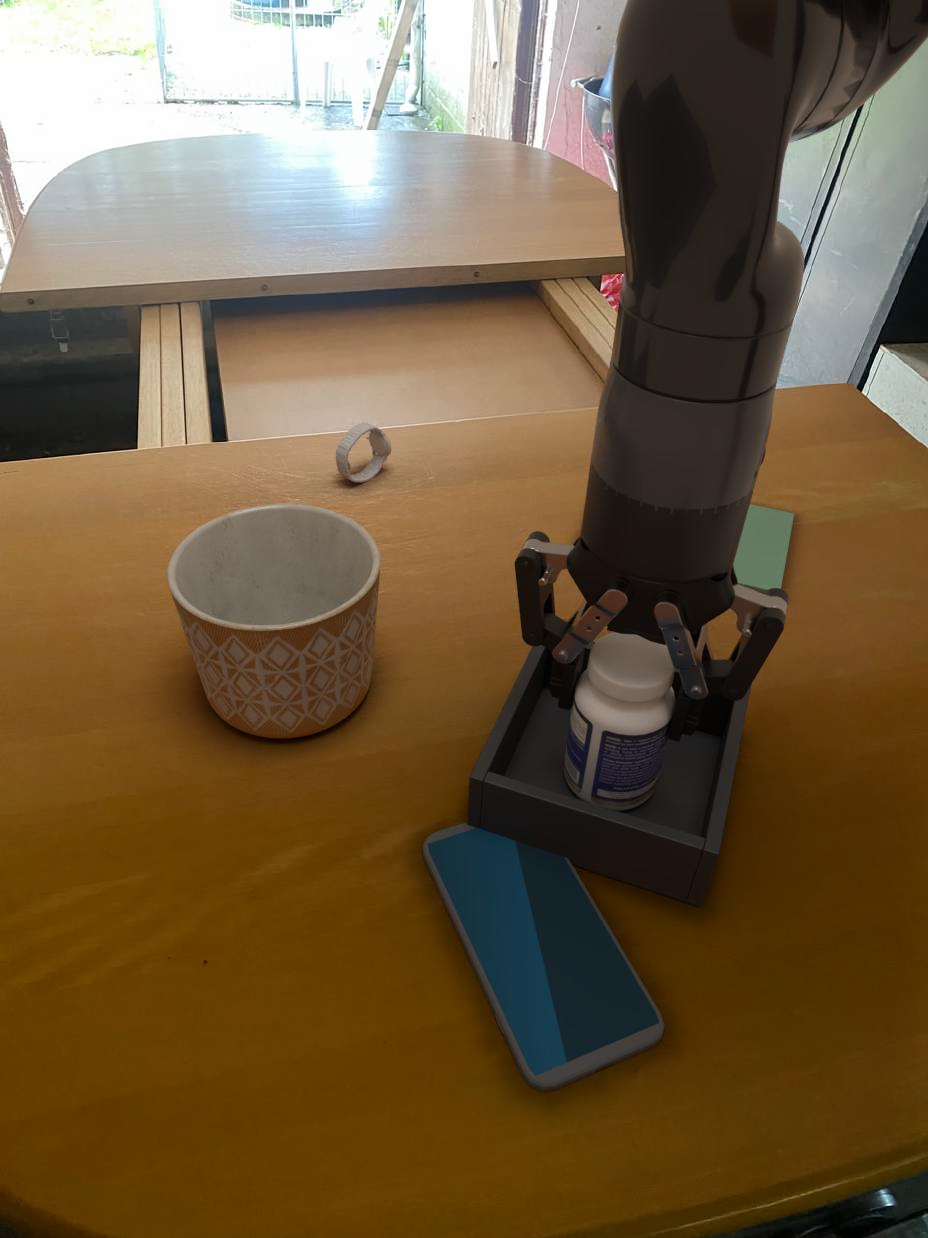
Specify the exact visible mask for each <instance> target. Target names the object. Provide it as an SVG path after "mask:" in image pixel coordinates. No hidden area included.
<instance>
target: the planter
mask: <svg viewBox="0 0 928 1238" xmlns="http://www.w3.org/2000/svg"><path fill="white" fill-rule="evenodd" d="M381 558H382V557H381V551H380V548H379V545H378V544H377V541H376V540H375V539H374V537H373V536H372V535H371V533H370V532H369V530H367V529H366V528H365V527H364V526H362V524H360V523H359V522H358V521H356V520H354V519H352V518H350V517H349V516H346V515H344V514H342V513H340V512H337V511H334V510H331V509H327V508H325V507H324V508H323V507H319V506H314V505H310V504H309V505H308V504H300V503H299V504H297V503H274V504H263V505H256V506H251V507H245V508H241V509H237V510H234V511H231V512H228V513H225V514H223V515H220V516H218V517H215V518H213V519H211V520H209V521H207V522H205V523H204V524H201V525H200V526H199V527H197V528H195V529H194V530H192V532H190V533H189V534H188V535H187V536H186V537H184V538H183V539H182V540H181V542H179V544H178V545H177V546H176V547H175V549H174V551H173V552H172V554H171V556H170V558H169V560H168V564H167V568H166V581H167V585H168V589H169V592H170V594H171V597H172V600H173V603H174V606H175V608H176V609H175V610H176V612H177V615H178V618H179V620H180V623H181V627H182V629H183V633H184V636H185V638H186V641H187V644H188V647H189V649H190V653H191V656H192V659H193V660H194V663H195V667H196V670H197V673H198V676H199V678H200V681H201V684H202V687H203V690H204V693H205V696H206V699H207V701H208V703H209V704H210V706H211V708H212V709H213V711H214V712H215V713H216V714H217V715H218V716H219V717H220V718H221V719H222V720H223V721H224V722H226V724H229V725H230V726H232V727H233V728H235V729H237V730H239V731H241V732H244V733H247V734H250V735H253V736H257V737H261V738H268V739H294V738H301V737H302V738H303V737H306V736H311V735H314V734H317V733H320V732H322V731H325V730H327V729H329V728H332V727H333V726H335V725H336V724H338V723H340V722H341V721H343V720H344V719H346V718H347V717H348V716H349V715H351V714H352V713H353V712H354V711H355V710H356V709H357V708H358V707H359V706H360V704H361V703H362V701H363V700H364V698H365V697H366V695H367V693H368V691H369V689H370V685H371V682H372V678H373V677H372V676H373V668H374V667H373V665H374V656H375V655H374V653H375V641H376V628H377V616H378V603H379V602H378V601H379V589H380V576H381V562H382V559H381Z"/></svg>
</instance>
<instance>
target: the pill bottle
mask: <svg viewBox="0 0 928 1238" xmlns="http://www.w3.org/2000/svg"><path fill="white" fill-rule="evenodd" d="M594 642H595V643H594V645H593V646H592V648H591V651H590V655H589V661H588V666H587V669H586V670H585V671H584V672H583V673H582V675H581V676H580V677H579V679H578V681H577V684H576V687H575V692H574V698H573V704H572V711H571V718H570V725H569V732H568V739H567V746H566V753H565V760H564V775H565V778H566V781H567V783H568V785H569V787H570V788H571V790H572V791H573V792H574V793H575V794H576V795H577V796H578V797H579V798H580V799H581V800H583V801H586V802H589V803H592V804H595V805H599V806H602V807H605V808H608V809H612V810H615V811H622V810H628V809H632V808H635V807H637V806H639V805H641V804H642V803H644V802H645V801H646V800H647V799H648V798H649V797H650V796H651V795H652V793H653V792H654V790H655V787H656V784H657V781H658V777H659V773H660V769H661V765H662V760H663V756H664V753H665V748H666V744H667V740H668V739H667V738H668V734H669V730H670V726H671V722H672V718H673V714H674V710H675V703H676V701H675V694H674V691H673V689H672V683H673V678H674V672H675V668H674V667H673V664H672V661H671V658H670V655H669V652H668V649H667V645H662V644H658V643H654V642H651V641H649V640H646V639H644V638H642V637H640V636H638V635H633V634H620V633H616V632H611V633H607V634H605V635H604V636H601V637H600V638H598V639H597V640H596V641H594Z"/></svg>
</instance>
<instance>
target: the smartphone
mask: <svg viewBox="0 0 928 1238" xmlns="http://www.w3.org/2000/svg"><path fill="white" fill-rule="evenodd" d="M422 857H423V861H424V863H425V865H426V868H427V870H428V872H429V874H430V876H431V878H432V881H433V883H434V885H435V888H436V890H437V892H438V894H439V897H440V898H441V901H442V903H443V906H444V907H445V909H446V912H447V914H448V916H449V918H450V921H451V923H452V925H453V927H454V930H455V931H456V934H457V936H458V938H459V941H460V942H461V944H462V945H461V946H462V947H463V949H464V952H465V953H466V956H467V958H468V960H469V962H470V964H471V966H472V968H473V971H474V974H475V975H476V978H477V980H478V982H479V985H480V986H481V989H482V991H483V993H484V995H485V998H486V1000H487V1002H488V1004H489V1006H490V1009H491V1010H492V1013H493V1015H494V1019H495V1021H496V1023H497V1025H498V1027H499V1030H500V1032H501V1034H502V1035H503V1037H504V1039H505V1041H506V1043H507V1047H508V1048H509V1050H510V1053H511V1054H512V1057H513V1059H514V1061H515V1064H516V1066H517V1068H518V1070H519V1072H520V1075H521V1077H522V1078H523V1080H524V1081H525V1082H526V1084H527V1085H528V1086H529V1087H530V1088H532V1089H534V1090H537V1091H538V1092H541V1093H545V1092H554V1091H556V1090H559V1089H560V1088H563V1087H566V1086H568V1085H570V1084H572V1083H574V1082H577V1081H579V1080H581V1079H584V1078H586V1077H588V1076H590V1075H593V1074H595V1073H597V1072H599V1071H601V1070H603V1069H605V1068H608V1067H610V1066H612V1065H616V1064H618V1063H620V1062H622V1061H624V1060H627V1059H629V1058H631V1057H634V1056H636V1055H639V1054H641V1053H643V1052H645V1051H647V1050H650V1049H652V1048H654V1047H655V1046H656V1045H657V1044H659V1042H660V1041H662V1038H663V1034H664V1031H665V1023H664V1019H663V1016H662V1013H661V1012H660V1010H659V1008H658V1007H657V1005H656V1004H655V1001H654V999H652V997H651V995H650V993H649V991H648V989H647V988H646V987H645V984H644V983H643V981H642V980H641V978H640V977H639V974H638V973H637V972H636V969H635V968H634V966H633V964H632V963H631V961H630V960H629V958H628V956H627V955H626V953H625V951H624V949H623V948H622V946H621V944H620V943H619V941H618V939H617V938H616V936H615V934H614V932H613V930H612V929H611V927H610V925H609V924H608V923H607V921H606V919H605V917H604V916H603V914H602V912H601V910H600V908H599V907H598V906H597V903H595V900H594V899H593V897H592V896H591V894H590V892H589V890H588V889H587V887H586V885H585V883H584V882H583V880H582V879H581V877H580V875H579V874H578V872H577V870H576V868H575V866H573V865H572V863H571V862H570V860H569V859H568V858H566V857H564V856H561V855H558V854H554V853H551V852H548V851H545V850H542V849H539V848H536V847H533V846H530V845H527V844H524V843H521V842H518V841H515V840H512V839H509V838H506V837H503V836H500V835H497V834H494V833H491V832H488V831H485V830H482V829H480V828H475V827H472V826H469V825H467V821H466V822H463V823H460V824H456V825H453V826H450V827H447V828H444V829H441V830H437V831H435V832H433V833H431V834H430V835H429V836H427V837H426V839H425V841H424V842H423V844H422Z"/></svg>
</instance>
